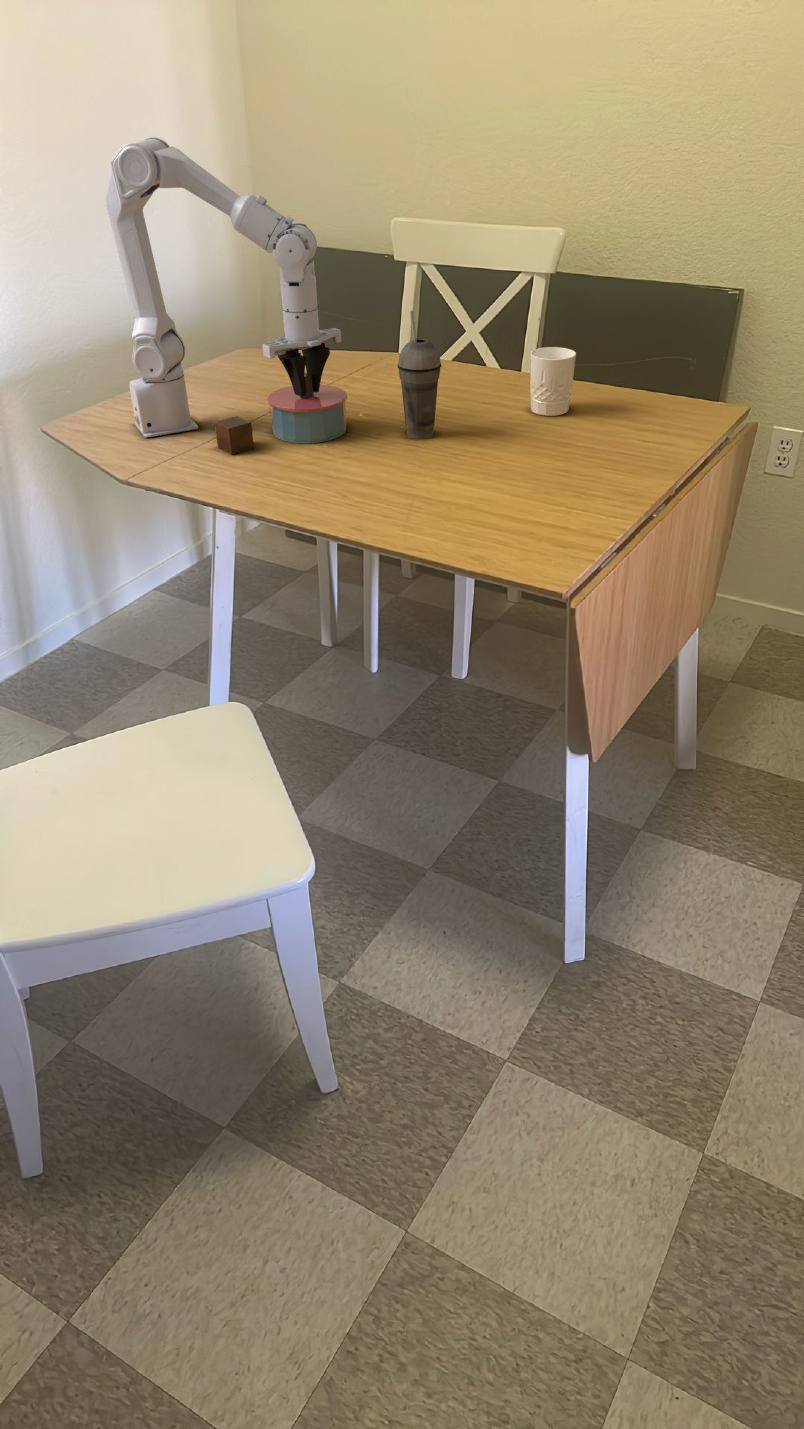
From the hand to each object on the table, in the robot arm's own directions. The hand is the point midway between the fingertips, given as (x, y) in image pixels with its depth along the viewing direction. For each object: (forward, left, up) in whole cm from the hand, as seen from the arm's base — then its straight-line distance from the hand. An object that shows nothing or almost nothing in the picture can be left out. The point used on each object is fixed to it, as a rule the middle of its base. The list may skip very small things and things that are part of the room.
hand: (306, 393), depth 166 cm
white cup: (+42, -11, -7) cm, 44 cm away
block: (-14, -2, -6) cm, 16 cm away
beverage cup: (+16, -11, -7) cm, 21 cm away
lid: (0, 0, -1) cm, 1 cm away
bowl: (0, 0, -6) cm, 6 cm away
